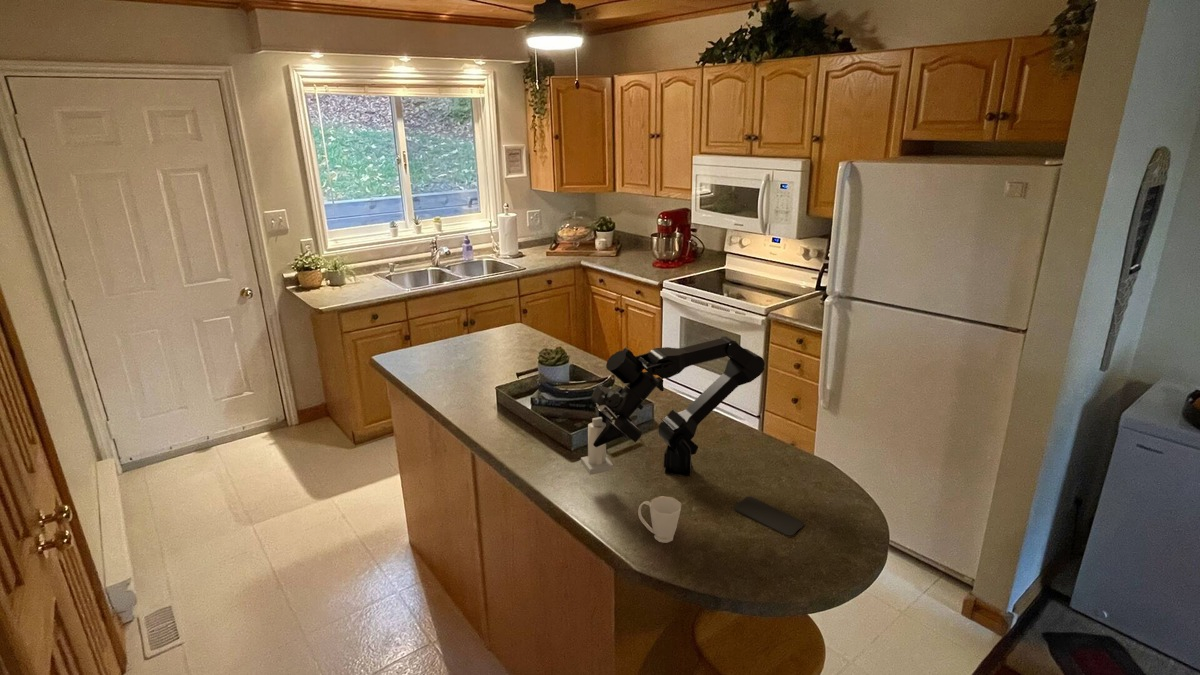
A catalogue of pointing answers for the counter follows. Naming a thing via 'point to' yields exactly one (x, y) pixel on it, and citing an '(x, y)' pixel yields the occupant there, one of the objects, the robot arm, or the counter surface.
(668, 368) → the robot arm
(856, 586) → the counter surface
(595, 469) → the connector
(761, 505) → the phone
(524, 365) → the counter surface
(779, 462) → the counter surface
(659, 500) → the cup
